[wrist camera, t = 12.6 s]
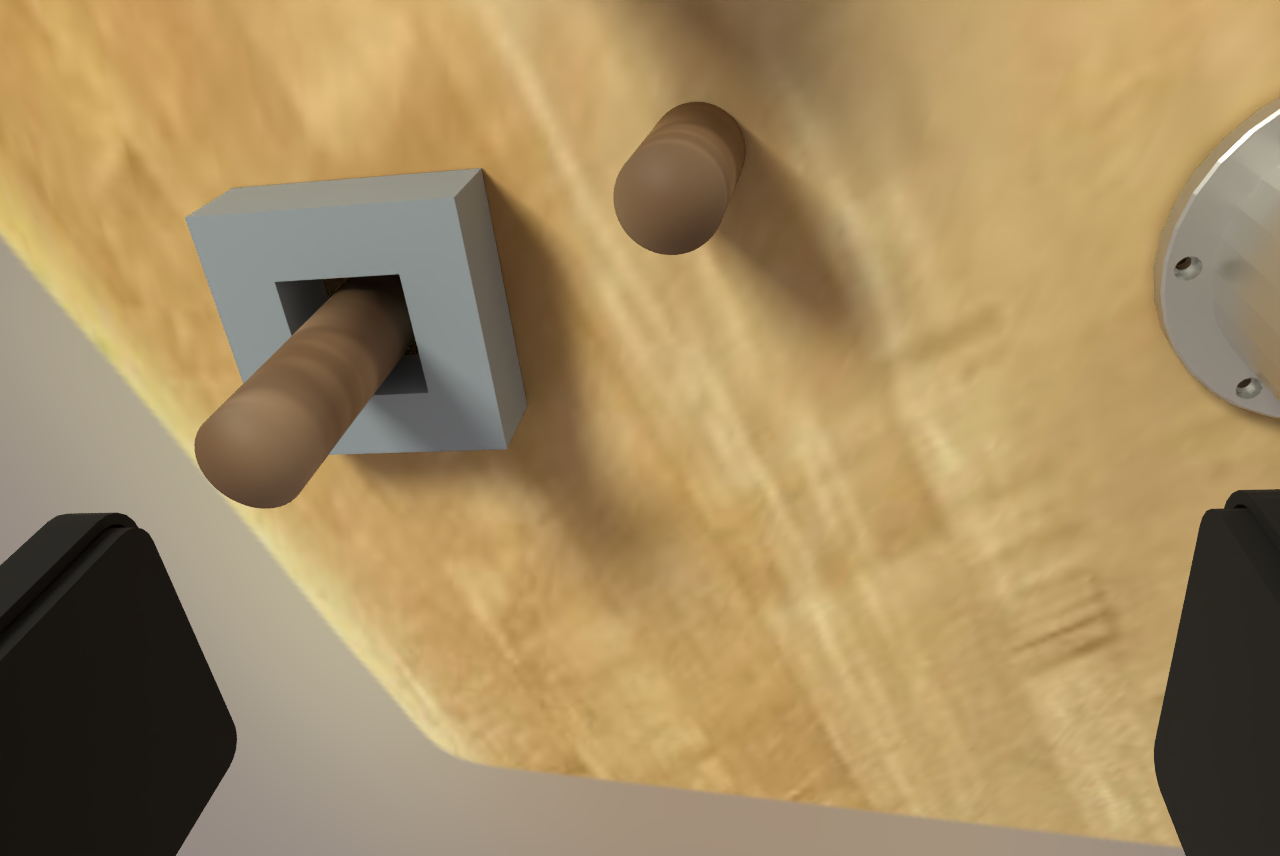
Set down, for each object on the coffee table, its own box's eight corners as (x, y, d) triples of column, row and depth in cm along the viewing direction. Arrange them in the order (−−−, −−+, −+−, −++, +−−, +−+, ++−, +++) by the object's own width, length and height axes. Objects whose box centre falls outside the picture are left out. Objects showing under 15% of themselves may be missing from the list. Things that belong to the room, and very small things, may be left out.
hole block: (481, 168, 36) (453, 197, 33) (527, 405, 41) (506, 449, 38) (232, 188, 38) (184, 217, 35) (305, 413, 43) (269, 456, 40)
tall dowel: (419, 259, 38) (286, 409, 28) (438, 338, 40) (318, 507, 30) (338, 264, 39) (178, 413, 29) (360, 342, 41) (216, 509, 30)
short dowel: (723, 86, 34) (697, 126, 28) (760, 177, 35) (741, 232, 30) (634, 125, 35) (595, 170, 30) (673, 212, 36) (641, 269, 31)
